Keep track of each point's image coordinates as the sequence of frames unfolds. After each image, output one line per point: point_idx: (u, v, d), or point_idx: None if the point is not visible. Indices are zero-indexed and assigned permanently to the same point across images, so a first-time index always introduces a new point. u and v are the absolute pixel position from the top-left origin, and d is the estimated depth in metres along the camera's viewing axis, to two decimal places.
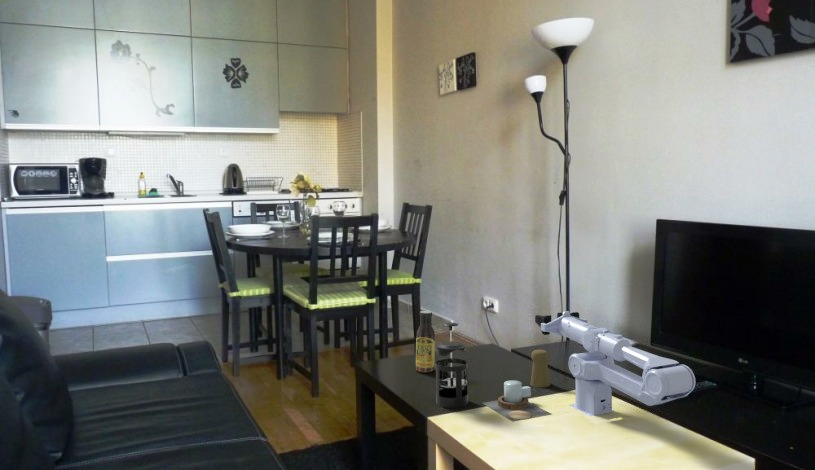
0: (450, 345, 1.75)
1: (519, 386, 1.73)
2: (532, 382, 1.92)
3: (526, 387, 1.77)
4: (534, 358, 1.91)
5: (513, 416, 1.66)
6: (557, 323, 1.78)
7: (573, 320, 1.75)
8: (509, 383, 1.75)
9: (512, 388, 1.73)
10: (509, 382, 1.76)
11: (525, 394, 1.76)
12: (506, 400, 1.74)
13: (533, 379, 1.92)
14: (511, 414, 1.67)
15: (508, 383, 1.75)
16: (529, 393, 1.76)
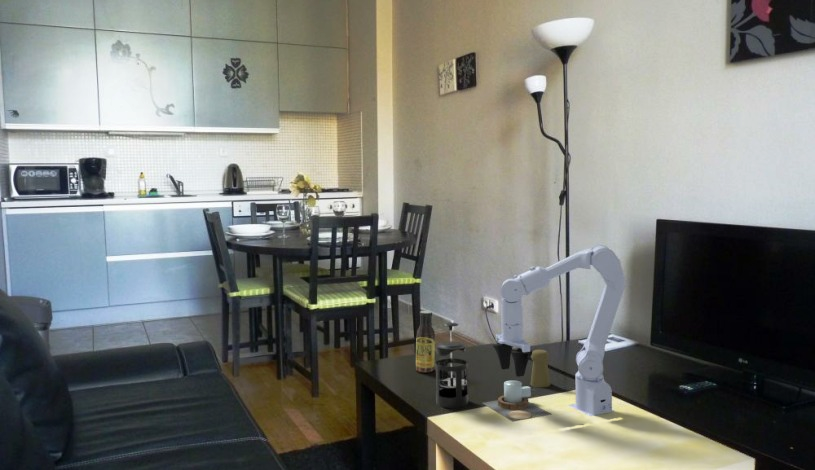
0: (450, 345, 1.75)
1: (519, 386, 1.73)
2: (532, 382, 1.92)
3: (526, 387, 1.77)
4: (534, 358, 1.91)
5: (513, 416, 1.66)
6: (515, 342, 1.71)
7: (504, 326, 1.72)
8: (509, 383, 1.75)
9: (512, 388, 1.73)
10: (509, 382, 1.76)
11: (525, 394, 1.76)
12: (506, 400, 1.74)
13: (533, 379, 1.92)
14: (511, 414, 1.67)
15: (508, 383, 1.75)
16: (529, 393, 1.76)
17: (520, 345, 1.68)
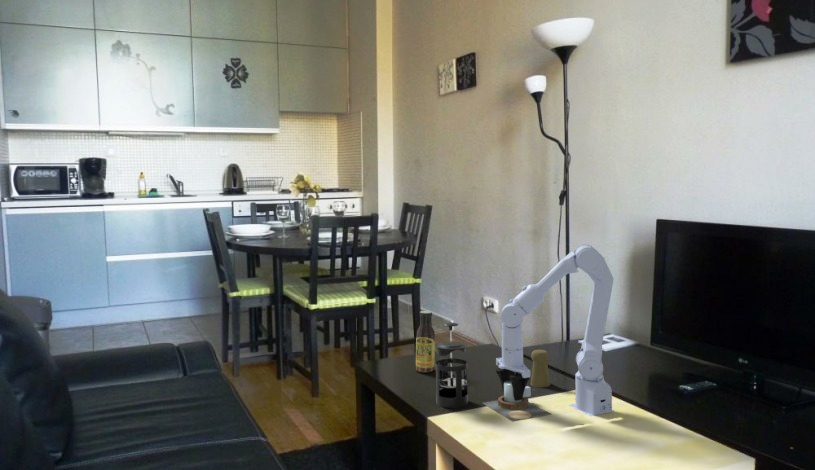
0: (450, 345, 1.75)
1: None
2: (532, 382, 1.92)
3: (526, 387, 1.77)
4: (534, 358, 1.91)
5: (513, 416, 1.66)
6: (515, 367, 1.72)
7: (505, 351, 1.73)
8: (509, 383, 1.75)
9: (512, 388, 1.73)
10: (509, 382, 1.76)
11: (525, 394, 1.76)
12: (506, 400, 1.74)
13: (533, 379, 1.92)
14: (511, 414, 1.67)
15: (508, 383, 1.75)
16: (529, 393, 1.76)
17: (520, 371, 1.69)
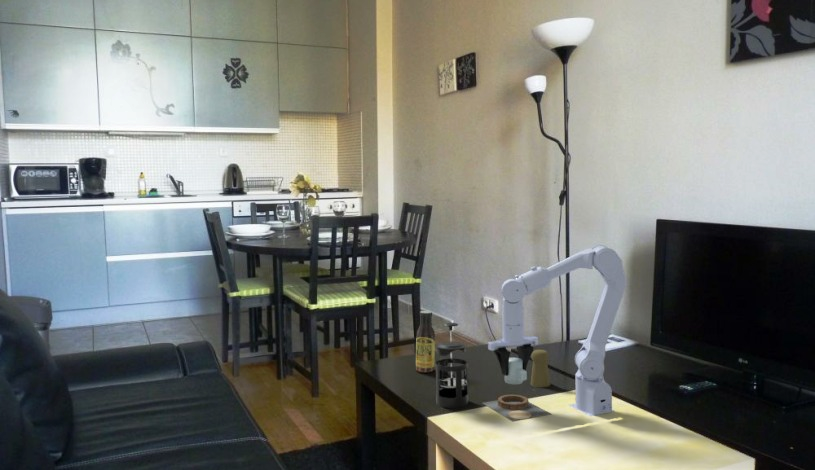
0: (450, 345, 1.75)
1: None
2: (532, 382, 1.92)
3: (521, 370, 1.69)
4: (534, 358, 1.91)
5: (513, 416, 1.66)
6: (502, 341, 1.73)
7: None
8: (513, 358, 1.74)
9: None
10: (515, 359, 1.74)
11: (518, 376, 1.70)
12: None
13: (533, 379, 1.92)
14: (511, 414, 1.67)
15: (511, 358, 1.74)
16: (520, 377, 1.69)
17: None
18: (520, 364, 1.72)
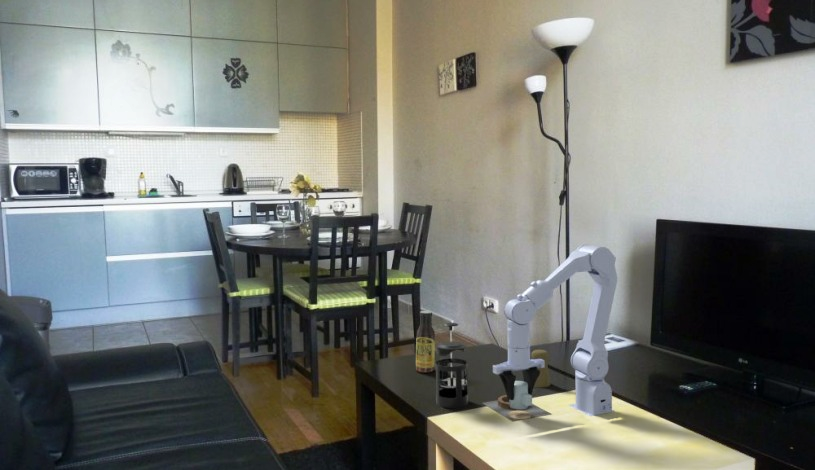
0: (450, 345, 1.75)
1: None
2: None
3: (526, 395, 1.63)
4: (534, 358, 1.91)
5: (513, 416, 1.66)
6: (507, 364, 1.66)
7: None
8: (518, 382, 1.68)
9: None
10: (520, 382, 1.67)
11: (523, 401, 1.63)
12: None
13: None
14: (511, 414, 1.67)
15: (516, 382, 1.68)
16: (525, 402, 1.62)
17: None
18: (525, 388, 1.65)
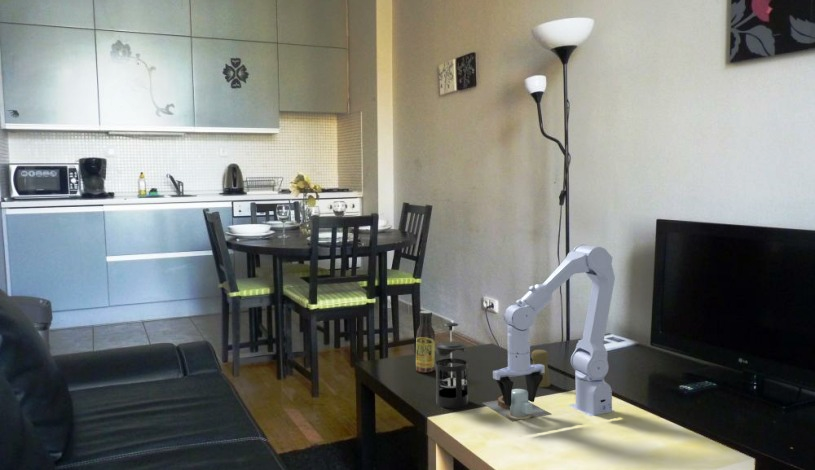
0: (450, 345, 1.75)
1: (512, 395, 1.65)
2: None
3: (527, 403, 1.63)
4: (534, 358, 1.91)
5: None
6: (507, 369, 1.66)
7: None
8: (518, 390, 1.68)
9: None
10: (520, 390, 1.68)
11: (523, 409, 1.63)
12: None
13: None
14: None
15: (516, 390, 1.68)
16: (526, 410, 1.62)
17: None
18: (526, 396, 1.65)
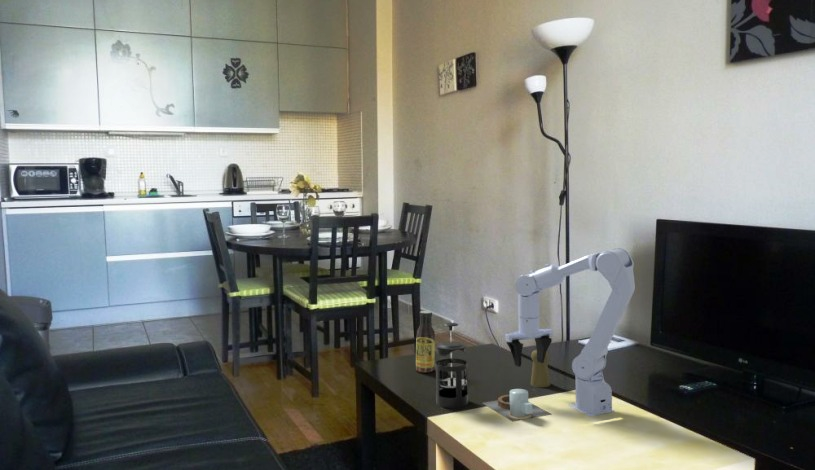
0: (450, 345, 1.75)
1: (512, 395, 1.65)
2: (532, 382, 1.92)
3: (527, 403, 1.63)
4: (534, 358, 1.91)
5: None
6: None
7: None
8: (518, 390, 1.68)
9: None
10: (520, 390, 1.68)
11: (523, 409, 1.63)
12: None
13: (533, 379, 1.92)
14: None
15: (516, 390, 1.68)
16: (526, 410, 1.62)
17: None
18: (526, 396, 1.65)
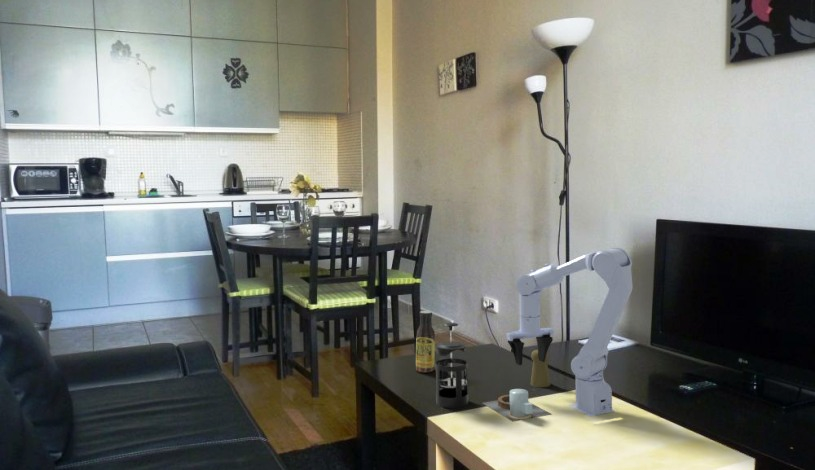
0: (450, 345, 1.75)
1: (512, 395, 1.65)
2: (532, 382, 1.92)
3: (527, 403, 1.63)
4: (534, 358, 1.91)
5: None
6: (519, 332, 1.82)
7: None
8: (518, 390, 1.68)
9: None
10: (520, 390, 1.68)
11: (523, 409, 1.63)
12: None
13: (533, 379, 1.92)
14: None
15: (516, 390, 1.68)
16: (526, 410, 1.62)
17: None
18: (526, 396, 1.65)
